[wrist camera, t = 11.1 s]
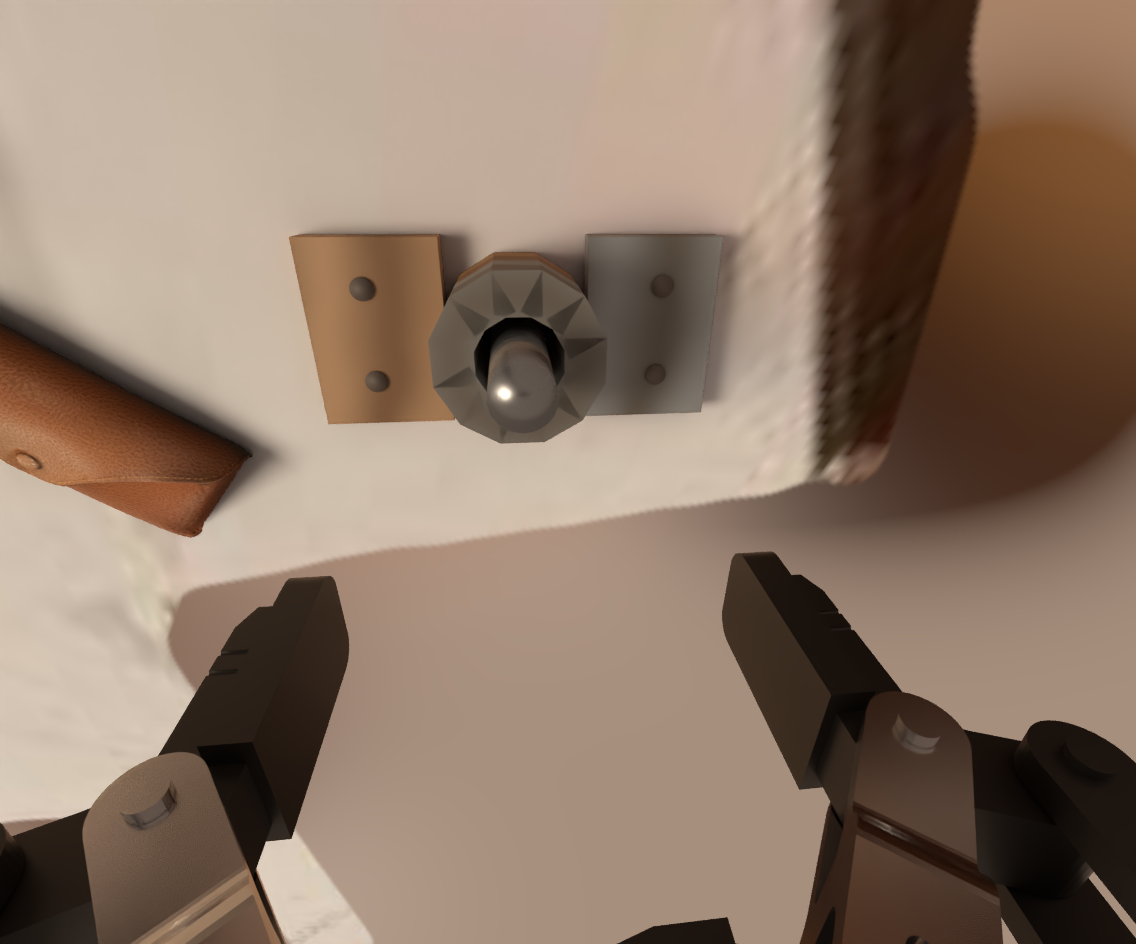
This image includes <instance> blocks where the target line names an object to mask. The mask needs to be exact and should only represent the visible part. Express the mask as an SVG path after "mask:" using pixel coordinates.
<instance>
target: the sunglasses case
mask: <svg viewBox="0 0 1136 944" xmlns="http://www.w3.org/2000/svg"><path fill="white" fill-rule="evenodd" d="M249 457H252V454H251V453H249V452H247V451H246V450H245V449H244V448H242V447H241V446H239V445H237V444H235V443H233V442H231V441H229V440H227V439H225V438H223V437H221V436H219V435H217V434H215V433H213V432H211V431H209V430H207V429H205V428H203V427H200V426H198V425H196V424H194V423H192V422H190V421H188V420H186V419H184V418H182V417H179V416H177V415H175V414H173V413H171V412H169V411H167V410H166V409H164V408H162V407H160V406H158V405H156V404H154V403H152V402H150V401H147V400H145V399H143V398H141V397H139V396H137V395H135V394H133V393H130V392H128V391H127V390H125V389H123V388H122V387H120V386H118V385H116V384H114V383H112V382H110V381H108V380H106V379H104V378H103V377H101V376H99V375H97V374H95V373H93V372H92V371H90V370H88V369H86V368H84V367H82V366H80V365H78V364H76V363H74V362H72V361H70V360H68V359H66V358H64V357H62V356H60V355H58V354H56V353H54V352H52V351H50V350H48V349H47V348H45V347H43V346H41V345H39V344H37V343H36V342H34V341H32V340H30V339H28V338H26V337H25V336H23V335H21V334H19V333H17V332H15V331H13V330H11V329H9V328H8V327H6V326H4V325H2V324H0V459H2V460H3V461H5V462H6V463H8V464H10V465H12V466H14V467H16V468H18V469H20V470H22V471H25V472H27V473H28V474H30V475H33V476H35V477H37V478H39V479H41V480H43V481H46V482H49V483H51V484H55V485H60V486H67V487H70V488H72V489H74V490H76V491H78V492H81V493H83V494H85V495H87V496H89V497H91V498H93V499H96V500H98V501H100V502H102V503H104V504H106V505H109V506H111V507H113V508H115V509H118V510H120V511H122V512H124V513H126V514H129V515H131V516H134V517H136V518H138V519H141V520H143V521H146V522H148V523H150V524H153V525H155V526H157V527H159V528H162V529H165V530H167V531H170V532H172V533H175V534H178V535H182V536H187V537H195V536H196V535H198V534H199V533H201V532H202V527H203V524H204V521H205V520H206V518H207V517H208V516H209V514H210V513H211V511H212V510H213V508H214V507H215V506H216V504H217V503H218V501H219V500H220V498H221V496H222V495H223V494H224V492H225V490H226V489H227V488H228V486H229V485H230V483H231V481H232V480H233V478H234V477H235V475H236V473H237V471H238V470H239V469H240V468H241V466H242V464H243V463H244V461H246V460H247V459H248V458H249Z"/></svg>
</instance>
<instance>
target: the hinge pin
mask: <svg viewBox="0 0 1136 944" xmlns="http://www.w3.org/2000/svg"><path fill="white" fill-rule="evenodd" d="M558 404H559V394H558V389H557V386H556V382H555V378H554V374H553V370H552V366H551V362H550V358H549V354H548V350H547V346H546V342H545V338H544V334H543V330H542V327H541V323H540V322H539V321H537V320H535V319H533V318H531V317H509V318H504V319H503V320H501V321H499V322H498V323H496V324H494V325H493V327H492V338H491V350H490V362H489V374H488V385H487V407H488V410H489V412H490V415H491V416H492V418H493V419H494V420H495V422H497V423H498V424H499V425H500V426H501V427H503V428H505V429H506V430H509V431H512V432H516V433H530V432H534V431H537V430H539V429H541V428H543V427H544V426H546V425H547V424H548V423H549V422H550V421H551V420H552V418H553V417H554V415H555V413H556V411H557V408H558Z"/></svg>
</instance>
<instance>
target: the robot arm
mask: <svg viewBox="0 0 1136 944" xmlns="http://www.w3.org/2000/svg"><path fill="white" fill-rule="evenodd" d="M722 622H723V628H724V633H725V637H726V639H727V642H728V644H729V646H730V648H731V650H732V652H733V654H734V656H735V658H736V660H737V662H738V664H739V666H740V669H741V671H742V673H743V675H744V677H745V679H746V681H747V683H748V685H749V687H750V689H751V691H752V693H753V695H754V697H755V699H756V702H757V704H758V706H759V708H760V710H761V712H762V714H763V716H764V718H765V720H766V722H767V724H768V726H769V728H770V730H771V732H772V734H773V736H774V738H775V741H776V743H777V745H778V747H779V749H780V751H781V752H782V755H783V757H784V759H785V761H786V763H787V765H788V767H789V769H790V771H791V773H792V776H793V778H794V780H795V781H796V784H797V786H798V788H799V789H810V788H820V787H823V788H824V790H825V792H826V794H827V796H828V798H829V800H830V804H829V807H828V810H827V813H826V819H825V824H824V829H823V835H822V840H821V845H820V851H819V856H818V861H817V867H816V873H815V877H814V883H813V888H812V893H811V899H810V905H809V909H808V915H807V919H806V923H805V927H804V930H803V934H802V937H801V941H800V944H1003V935H1002V922H1001V917H1002V919H1003V920H1004V922H1005V924H1006V925H1007V927H1008V928H1009V930H1010V932H1011V933H1012V935H1013V936H1014V938H1015V940H1016V941H1017V943H1018V944H1136V938H1135V937H1134V935H1133V934H1132V933H1131V932H1130V930H1129V929H1128V928H1127V927H1126V925H1125V924H1124V923H1123V921H1122V920H1121V919H1120V918H1119V917H1118V915H1117V914H1116V912H1115V911H1114V910H1113V909H1112V907H1111V906H1110V905H1109V904H1108V902H1107V901H1106V900H1105V898H1104V897H1103V896H1102V895H1101V894H1100V892H1099V891H1098V890H1097V888H1096V887H1095V886H1094V884H1093V883H1092V882H1091V881H1090V880H1089V876H1090V875H1091V874H1092V873H1093V872H1095V874H1096V875H1097V876H1098V877H1099V879H1100V880H1101V881H1102V882H1103V884H1104V885H1105V886H1106V887H1107V889H1108V890H1109V891H1110V892H1111V894H1112V895H1113V896H1114V897H1115V899H1116V900H1117V901H1118V902H1119V904H1120V905H1121V906H1122V907H1123V908H1124V910H1125V911H1126V912H1127V913H1128V915H1129V916H1130V917H1131V919H1132V920H1133V921H1134V922H1135V923H1136V763H1135V762H1134V761H1133V760H1132V759H1131V758H1130V757H1129V756H1127V755H1126V754H1125V753H1124V752H1123V751H1121V750H1120V749H1119V748H1117V747H1116V746H1115V745H1113V744H1112V743H1110V742H1109V741H1107V740H1106V739H1104V738H1102V737H1100V736H1098V735H1097V734H1095V733H1092V732H1090V731H1088V730H1086V729H1084V728H1081V727H1079V726H1075V725H1073V724H1069V723H1065V722H1060V721H1050V720H1047V721H1040V722H1037V723H1035V724H1033V725H1032V726H1031V727H1030V728H1029V730H1028V731H1027V733H1026V735H1025V736H1024V738H1023V740H1022V741H1017V740H1013V739H1008V738H1002V737H997V736H993V735H988V734H982V733H977V732H972V731H968V730H964V729H962V727H961V726H960V725H959V724H958V722H956V720H955V719H953V718H952V717H951V716H950V715H949V714H948V713H947V712H945V711H944V710H943V709H941V708H940V707H938V706H937V705H935V704H934V703H932V702H930V701H928V700H926V699H924V698H921V697H919V696H916V695H913V694H910V693H905V692H902V691H901V690H900V688H899V687H898V686H897V684H896V683H895V682H894V681H893V679H892V678H891V677H890V675H889V674H888V673H887V672H886V670H885V669H884V668H883V667H882V665H881V664H880V663H879V662H878V660H877V659H876V658H875V656H874V655H873V654H872V652H871V651H870V650H869V649H868V647H867V646H866V645H865V643H864V642H863V641H862V640H861V638H860V637H859V636H858V634H857V633H856V632H855V631H854V630H851V625H850V624H849V623H848V622H847V620H846V619H845V618H844V617H843V615H842V614H839V613H838V609H837V608H836V606H835V605H834V604H833V602H832V601H831V600H830V599H829V598H828V596H827V595H826V594H825V592H824V591H823V590H822V589H820V588H819V587H818V586H816V585H815V584H813V583H812V582H810V581H809V580H808V579H806V578H805V577H803V576H802V575H791V574H790V572H789V571H788V570H787V568H786V567H785V566H784V564H783V563H782V561H781V560H780V559H779V557H778V556H777V555H776V554H775V553H774V552H755V553H737V554H735V555H734V557H733V558H732V561H731V566H730V571H729V577H728V583H727V588H726V593H725V599H724V604H723V610H722ZM348 655H349V638H348V632H347V628H346V624H345V620H344V615H343V611H342V607H341V603H340V599H339V595H338V591H337V587H336V583H335V581H334V579H333V577H331V576H320V577H304V578H290V579H288V580H287V581H286V582H285V584H284V586H283V588H282V590H281V591H280V593H279V595H278V597H277V599H276V601H275V602H274V605H273V606H270V607H259V608H257V609H256V610H255V611H254V612H253V613H251V614H250V615H249V616H248V617H247V618H246V619H245V620H243V621H242V622H241V623H240V624H239V625H238V626H237V627H235V629H234V630H233V632H232V634H231V635H230V637H229V639H228V640H227V642H226V644H225V645H224V647H223V649H222V650H221V656H218V657H217V659H216V660H215V662H214V664H213V665H212V667H211V669H210V670H209V676H206V677H205V679H204V680H203V682H202V684H201V685H200V687H199V689H198V690H197V692H196V694H195V695H194V697H193V699H192V700H191V702H190V704H189V705H188V707H187V709H186V710H185V712H184V714H183V715H182V717H181V719H180V720H179V722H178V724H177V725H176V727H175V729H174V730H173V732H172V734H171V735H170V737H169V739H168V740H167V742H166V744H165V745H164V747H163V749H162V750H161V752H160V753H159V755H158V756H157V757H154V758H151V759H149V760H147V761H145V762H143V763H140V764H139V765H137V766H135V767H133V768H132V769H130V770H128V771H127V772H126V773H124V774H123V775H121V776H120V777H119V778H117V779H116V780H115V781H114V782H113V783H112V784H110V785H109V786H108V787H107V788H106V789H105V790H104V792H103V793H102V794H101V795H100V796H99V797H98V799H97V800H96V801H95V802H94V804H93V805H92V807H91V808H90V809H87V810H85V811H82V812H80V813H77V814H74V815H71V816H68V817H65V818H63V819H60V820H57V821H54V822H51V823H48V824H46V825H43V826H40V827H37V828H34V829H32V830H29V831H26V832H23V833H20V834H17V835H15V836H11V835H10V834H9V832H8V831H7V830H6V829H5V827H4V826H3V825H2V824H1V823H0V944H286V942H285V939H284V937H283V934H282V932H281V929H280V927H279V924H278V922H277V919H276V916H275V914H274V911H273V909H272V906H271V904H270V901H269V899H268V896H267V894H266V891H265V889H264V886H263V884H262V881H261V879H260V876H259V873H258V871H257V869H256V868H257V865H258V862H259V859H260V856H261V854H262V851H263V848H264V845H265V842H266V841H275V840H285V839H291V838H292V835H293V832H294V829H295V826H296V823H297V820H298V817H299V814H300V811H301V807H302V804H303V801H304V798H305V795H306V791H307V789H308V786H309V782H310V779H311V776H312V773H313V770H314V767H315V764H316V761H317V758H318V754H319V751H320V748H321V745H322V742H323V739H324V736H325V733H326V730H327V727H328V723H329V720H330V717H331V714H332V711H333V707H334V705H335V702H336V699H337V695H338V692H339V689H340V686H341V683H342V680H343V677H344V674H345V671H346V667H347V662H348ZM618 944H736V943H735V941H734V938H733V934H732V931H731V927H730V924H729V921H728V918H727V917H726V918H719V919H710V920H702V921H694V922H686V923H678V924H669V925H661V926H653V927H651V928H649V929H647V930H645V931H643V932H641V933H639V934H637V935H635V936H632V937H630V938H628V939H626V940H624V941H622V942H620V943H618Z"/></svg>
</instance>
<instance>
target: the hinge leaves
mask: <svg viewBox="0 0 1136 944" xmlns="http://www.w3.org/2000/svg"><path fill="white" fill-rule="evenodd" d="M289 240H290V245H291V250H292V254H293V259H294V264H295V269H296V273H297V278H298V283H299V287H300V292H301V297H302V301H303V306H304V311H305V316H306V320H307V325H308V330H309V334H310V339H311V344H312V348H313V353H314V358H315V363H316V367H317V372H318V377H319V381H320V386H321V391H322V396H323V400H324V405H325V410H326V414H327V419H328V424H348V423H380V422H411V421H442V420H455V418H456V419H457V421H458V422H459V423H460V425H463V426H465V427H467V428H469V429H471V430H473V431H475V432H477V433H480V434H482V435H484V436H486V437H488V438H490V439H492V440H494V441H497V442H499V443H528V442H545V441H547V440H549V439H551V438H552V437H554V436H556V435H558V434H559V433H561V432H563V431H565V430H566V429H568V428H570V427H572V426H573V425H575V424H577V423H579V422H581V421H582V420H583V419H584V417H585V416H599V415H630V414H662V413H693V412H701V407H702V399H703V392H704V384H705V376H706V368H707V360H708V353H709V345H710V337H711V329H712V321H713V314H714V306H715V298H716V290H717V282H718V275H719V267H720V259H721V251H722V243H723V236H719V235H715V234H586V239H585V288H584V294H583V292H582V291H581V290H580V288H579V287H578V285H577V284H576V282H575V281H574V280H573V278H572V277H571V275H570V274H569V273H568V272H566V271H565V270H563V269H561V268H560V267H558V266H556V265H555V264H553V263H551V262H550V261H548V260H546V259H545V258H543V257H541V256H540V255H538V254H537V253H535V252H494V253H492V254H491V255H489V256H488V257H486V258H484V259H483V260H481V261H480V262H478V263H477V264H475V265H473V266H472V267H470V268H469V269H467V270H466V271H464V272H463V273H461V274H460V275H459V277H458V280H457V282H456V284H455V286H454V288H453V290H452V292H451V294H450V296H449V298H448V300H447V302H446V294H445V283H444V273H443V262H442V251H441V241H440V234H395V235H295V236H291V237H289ZM509 317H531V318H533V319H535V320H537V321H539V322H540V323H542V324H544V325H546V326H547V327H549V328H551V329H553V338H552V340H551V342H550V344H549V345H548V347H547V350H548V354H549V358H550V362H551V366H552V370H553V374H554V378H555V382H556V386H557V389H558V394H559V404H558V408H557V411H556V413H555V415H554V417H553V418H552V420H551V421H550V422H549V423H548V424H547V425H546V426H544V427H543V428H541V429H539V430H537V431H534V432H530V433H516V432H512V431H509V430H506V429H505V428H503V427H501V426H500V425H499V424H498V423H497V422H495V420H494V419H493V418H492V416H491V415H490V412H489V410H488V407H487V385H488V374H489V362H490V351H489V350H488V348H487V347H486V345H485V344H484V342H483V340H482V339H481V337H482V335H483V333H484V331H485V330H486V329H488V328H490V327H491V326H493V325H494V324H496V323H498V322H499V321H501V320H503V319H504V318H509Z"/></svg>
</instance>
